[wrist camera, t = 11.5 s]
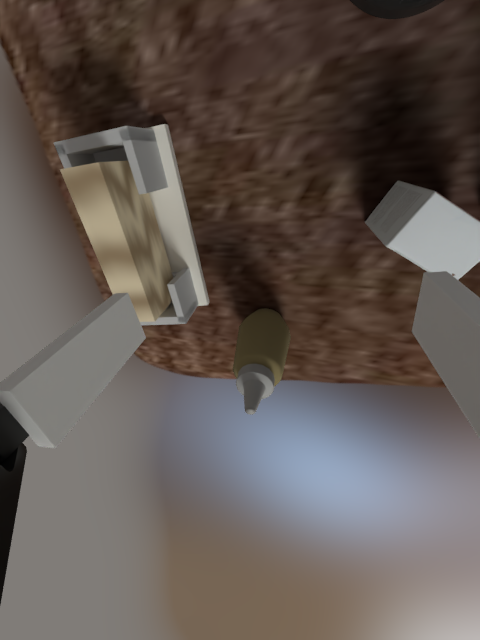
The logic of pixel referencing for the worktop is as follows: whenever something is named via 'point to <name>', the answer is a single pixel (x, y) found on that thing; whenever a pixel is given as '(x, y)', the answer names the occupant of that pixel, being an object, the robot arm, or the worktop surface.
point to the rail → (123, 234)
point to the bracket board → (167, 199)
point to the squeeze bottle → (260, 356)
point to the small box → (427, 229)
